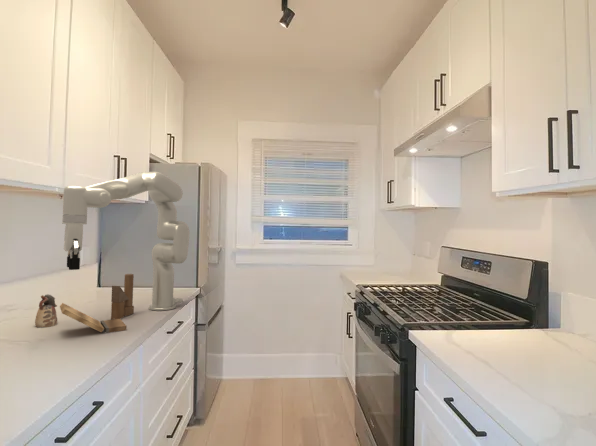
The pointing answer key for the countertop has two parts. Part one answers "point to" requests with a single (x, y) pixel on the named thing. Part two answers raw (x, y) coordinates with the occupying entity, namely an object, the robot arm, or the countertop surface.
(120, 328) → the brown flat block
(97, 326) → the oak plank
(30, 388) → the countertop surface
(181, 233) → the robot arm
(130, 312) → the wooden block stack
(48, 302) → the figurine
